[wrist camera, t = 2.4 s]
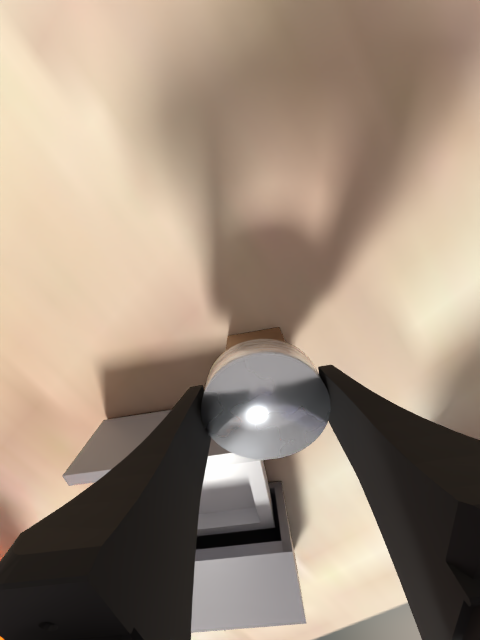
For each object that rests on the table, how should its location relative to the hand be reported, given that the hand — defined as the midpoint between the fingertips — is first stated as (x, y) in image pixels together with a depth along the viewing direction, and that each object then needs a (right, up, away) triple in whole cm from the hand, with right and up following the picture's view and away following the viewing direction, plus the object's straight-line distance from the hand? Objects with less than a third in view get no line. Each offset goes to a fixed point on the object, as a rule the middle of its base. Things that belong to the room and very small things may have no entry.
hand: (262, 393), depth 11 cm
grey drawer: (-4, -8, +7) cm, 11 cm away
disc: (0, 0, 0) cm, 0 cm away
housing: (-3, -15, +10) cm, 18 cm away
